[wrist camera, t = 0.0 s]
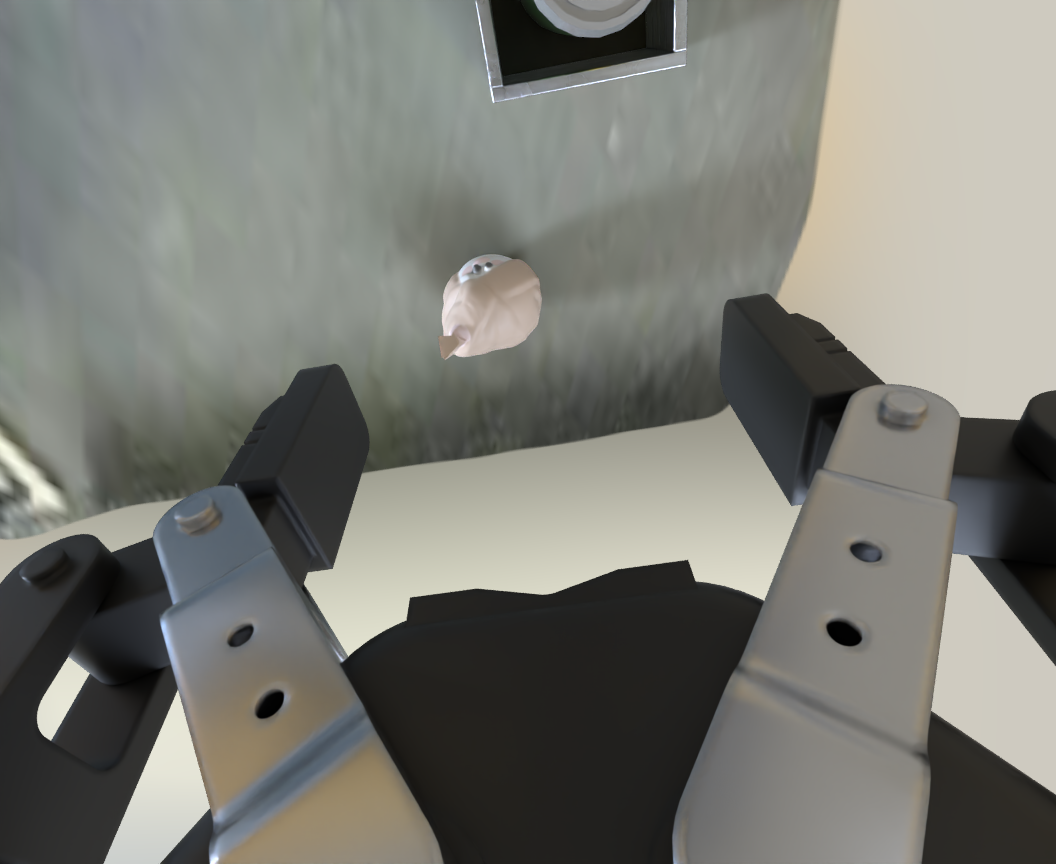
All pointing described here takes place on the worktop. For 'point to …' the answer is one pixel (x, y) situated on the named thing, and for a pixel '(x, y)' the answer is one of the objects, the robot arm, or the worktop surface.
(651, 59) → the open square box
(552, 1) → the beer can
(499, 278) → the garlic bulb
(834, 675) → the robot arm
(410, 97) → the worktop surface
